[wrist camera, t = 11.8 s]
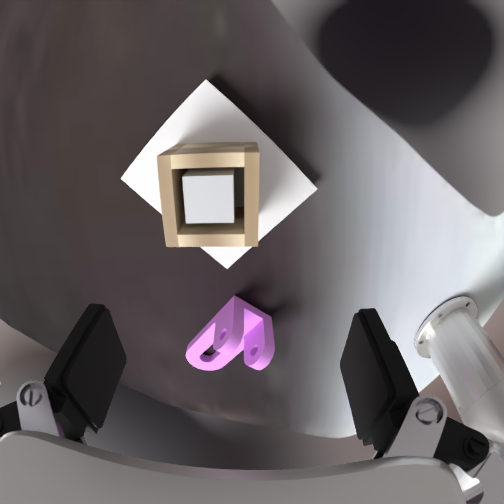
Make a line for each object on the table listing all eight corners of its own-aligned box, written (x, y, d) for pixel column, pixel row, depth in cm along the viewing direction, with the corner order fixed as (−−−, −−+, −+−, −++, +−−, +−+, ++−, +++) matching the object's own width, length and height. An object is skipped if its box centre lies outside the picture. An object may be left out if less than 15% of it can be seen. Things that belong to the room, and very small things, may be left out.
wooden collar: (256, 142, 24) (259, 152, 18) (255, 216, 27) (257, 246, 22) (176, 144, 24) (156, 156, 18) (181, 217, 27) (166, 246, 22)
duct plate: (313, 184, 27) (333, 209, 21) (227, 261, 31) (223, 302, 25) (207, 81, 22) (194, 72, 16) (126, 174, 26) (94, 196, 20)
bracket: (234, 294, 33) (232, 337, 27) (271, 316, 35) (275, 358, 29) (180, 351, 38) (172, 391, 32) (213, 367, 40) (209, 407, 34)
